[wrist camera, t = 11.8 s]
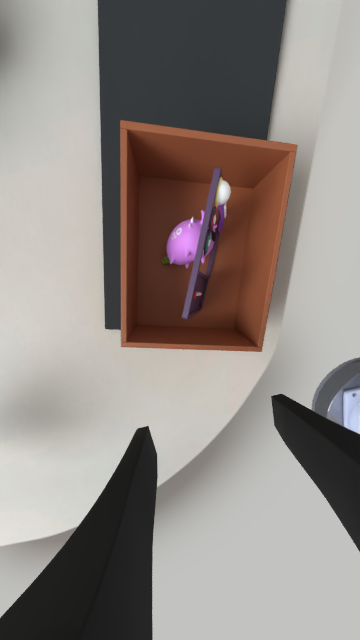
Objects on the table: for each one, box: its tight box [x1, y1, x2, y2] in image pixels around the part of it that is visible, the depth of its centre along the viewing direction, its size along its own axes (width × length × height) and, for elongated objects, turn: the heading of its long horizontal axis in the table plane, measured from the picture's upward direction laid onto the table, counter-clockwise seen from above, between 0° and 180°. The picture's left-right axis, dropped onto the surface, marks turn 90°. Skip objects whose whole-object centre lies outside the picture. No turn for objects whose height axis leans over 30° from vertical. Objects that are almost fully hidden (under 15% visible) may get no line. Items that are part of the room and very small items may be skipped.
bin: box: [120, 120, 297, 352], centre depth 16 cm, size 14×11×6 cm
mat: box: [98, 0, 286, 330], centre depth 14 cm, size 48×14×1 cm, turn 176°
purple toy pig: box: [162, 168, 231, 319], centre depth 15 cm, size 7×5×9 cm
